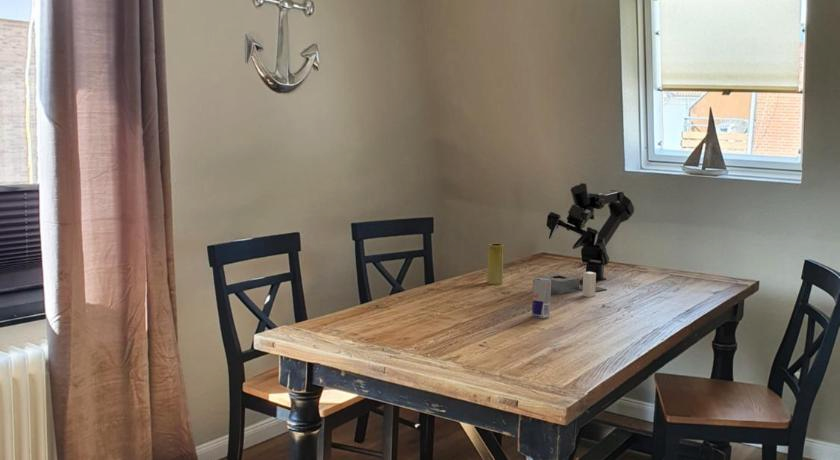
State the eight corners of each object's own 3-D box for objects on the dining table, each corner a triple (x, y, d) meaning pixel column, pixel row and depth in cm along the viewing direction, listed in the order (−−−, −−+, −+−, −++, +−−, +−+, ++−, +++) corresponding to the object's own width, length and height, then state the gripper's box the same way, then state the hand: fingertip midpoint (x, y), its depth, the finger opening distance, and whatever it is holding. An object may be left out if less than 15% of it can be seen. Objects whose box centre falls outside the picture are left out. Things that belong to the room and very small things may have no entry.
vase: (503, 281, 315) (504, 243, 313) (503, 285, 309) (504, 246, 307) (486, 281, 316) (487, 242, 314) (486, 284, 310) (487, 245, 308)
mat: (589, 286, 310) (589, 285, 310) (606, 290, 304) (606, 289, 304) (574, 288, 305) (574, 287, 305) (591, 293, 299) (591, 291, 299)
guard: (557, 285, 310) (558, 273, 309) (579, 290, 302) (579, 278, 302) (538, 289, 304) (538, 276, 303) (559, 294, 296) (560, 281, 295)
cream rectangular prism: (588, 294, 297) (589, 271, 296) (595, 295, 295) (596, 273, 293) (582, 295, 295) (583, 272, 294) (589, 297, 293) (590, 274, 292)
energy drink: (530, 314, 267) (531, 276, 265) (547, 314, 268) (548, 276, 266) (534, 318, 262) (535, 280, 260) (551, 318, 262) (552, 280, 261)
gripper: (559, 190, 307) (539, 216, 298) (608, 209, 299) (588, 236, 290) (556, 213, 315) (536, 238, 305) (603, 232, 307) (584, 259, 298)
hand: (561, 242), depth 300 cm, fingers open, 9 cm apart
